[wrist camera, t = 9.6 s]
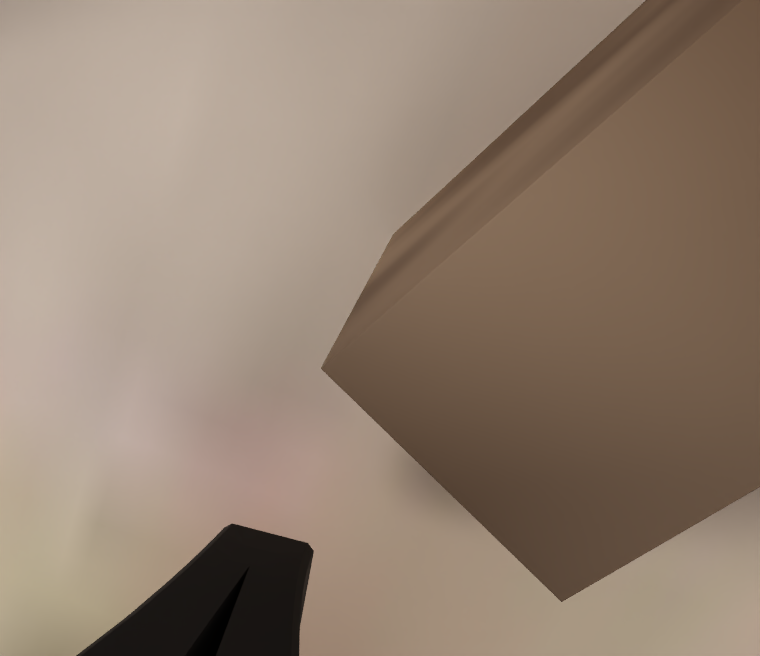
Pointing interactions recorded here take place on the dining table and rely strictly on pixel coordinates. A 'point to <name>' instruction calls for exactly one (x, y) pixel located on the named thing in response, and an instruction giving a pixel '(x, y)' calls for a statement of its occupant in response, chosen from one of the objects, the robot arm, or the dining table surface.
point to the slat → (587, 304)
